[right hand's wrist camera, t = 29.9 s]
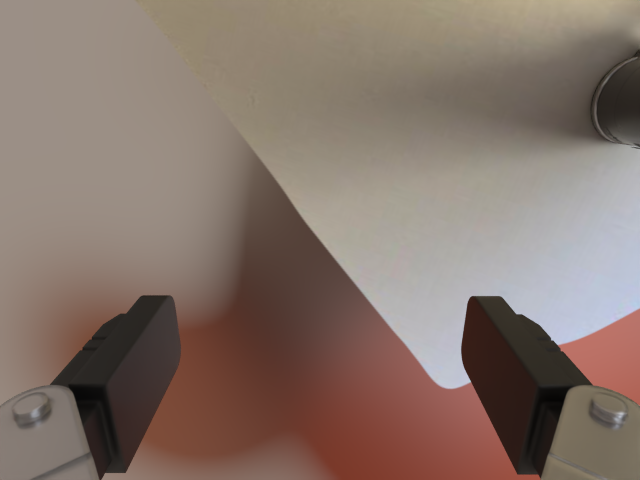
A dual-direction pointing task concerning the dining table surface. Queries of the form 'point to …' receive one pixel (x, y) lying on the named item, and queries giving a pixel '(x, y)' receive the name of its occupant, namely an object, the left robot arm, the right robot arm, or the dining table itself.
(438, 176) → the dining table surface
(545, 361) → the right robot arm
